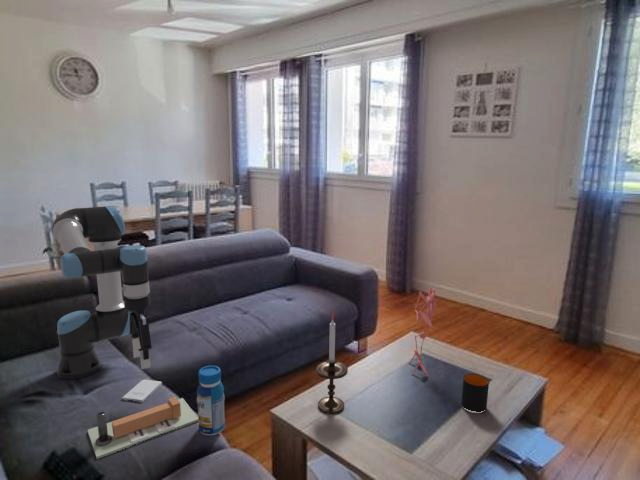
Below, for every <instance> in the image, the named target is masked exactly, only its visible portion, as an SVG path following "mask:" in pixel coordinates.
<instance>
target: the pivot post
mask: <svg viewBox="0 0 640 480" xmlns="http://www.w3.org/2000/svg"><path fill="white" fill-rule="evenodd" d="M96 423H97V426H98V434H99V438H97V439H96V445H97V446H105V445H108V444H109V443H110V442H111V441H112V436H110V435H108V431H107V423H108V422H107V414H106V412H105V411H101V412H98V413H97V414H96Z"/></svg>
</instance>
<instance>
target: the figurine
mask: <svg viewBox="0 0 640 480" xmlns="http://www.w3.org/2000/svg"><path fill="white" fill-rule="evenodd" d="M418 293H419V294H418V298H417V301H416V305H415V308H414V312H415V313H416V324H418V323H419V321H420V318H421V319H422V321H423V322H424V323H425V324H424V329H423V331H421V332H419V334H417V335H414V340H415V349H416V350H414V352H413V353H414V355H413V356H412V358H411V359H410V361H409V362H411V363H412V362H413V360H414V359H415V357H417V359H418V360H417V362H418V364H417V365H416V367H415V368H414V370H413V371H412V373H414V374H415V372H416V371H417V369H418V367H420V368H421V370H422V372H424V374H425V375H426V376H428V377H429V374H428V372H427V369H426V368H425V366H424V365H423V363H422V361H423V358H422V355H421V354H423V353H422V350H423V344H424V342H425V341H424V340H425V339H426V337H427V333H426V330H427V326H428V327H429V328H430V329H432V330H433V329H434V326H433V324H432V321H431V320H432V319H433V317H434V309H436V307H437V303H436V298H435V297H436V295H435V294H436V289H435V288H432V286H431V285H430V286H429V288H428V295H427V296H425V295H424V293H422V291H419V292H418ZM421 298H422V300H423V301H424V302H425V304H424V305H423V306H422V307H421V308H420V310H419V311H417V309H418V304H419V301H420V299H421ZM426 306H427V307H426ZM425 307H426V313H425V312H423V311H422V310H423V309H424V308H425ZM429 316H430V318H429ZM417 337H419V338H420V339H423V340H422V341H421V345H420V353H419V351H418V344H417Z"/></svg>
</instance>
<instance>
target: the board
mask: <svg viewBox="0 0 640 480" xmlns="http://www.w3.org/2000/svg"><path fill="white" fill-rule="evenodd" d="M177 399H178V398H177ZM178 401H179V402H180V408H181V416H180V417H177V418H174V419H173V418H171V420H172V422H173V423H174V425H175V427H173V428H170V429H167V430H165V431H162V432H158V430H157V428H156V426H155V425H151V426H148V427H145V429H146V431H147V433H148V435H149V437H146V438H143V439H140V440H138V441H135V442H131V440H130V438H129V436H128V434H126V435H123V436H120V437H117V438H115V437H114V435H113V430H112V421H110V422H107V431H108V435H110V436H112V441H111V442H110V443H109V444H108V445H105V446H97V445H96V439H97V438H99V434H98V425H97V426H95V427H91V428H89V429H87V433H88V437H89V440H90V442H91V445H92V449H93V452H94V455H95V458H96V460H99V459H101V458H104V457H107V456H109V455H112V454H114V453H117V451H118V452H120V451H123V450H125V448H126V449H129V448H131V447H133V446H132V445H134V444H136V445H138V444H137V443H138V442H141V441H143V440H146V439H148V438H151V437H154V436H157V435H159V434H162V433H164V432H168V431H171V430H174V429H176V430H179V429H182V428H184V427H186V426H187V427H188V426H190V425H192V424H194V423H197V422H198V423H199V418H198V415H196V413H195V412H194V410H193V409H192V408H191V406H189V404H188V403H187V402H186V400H185V399H184V398H183V397H180V398H179V399H178ZM178 428H179V429H178ZM174 431H175V430H174ZM171 432H172V431H171ZM168 433H169V432H168ZM130 446H131V447H130ZM134 446H135V445H134ZM122 449H123V450H122Z"/></svg>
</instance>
